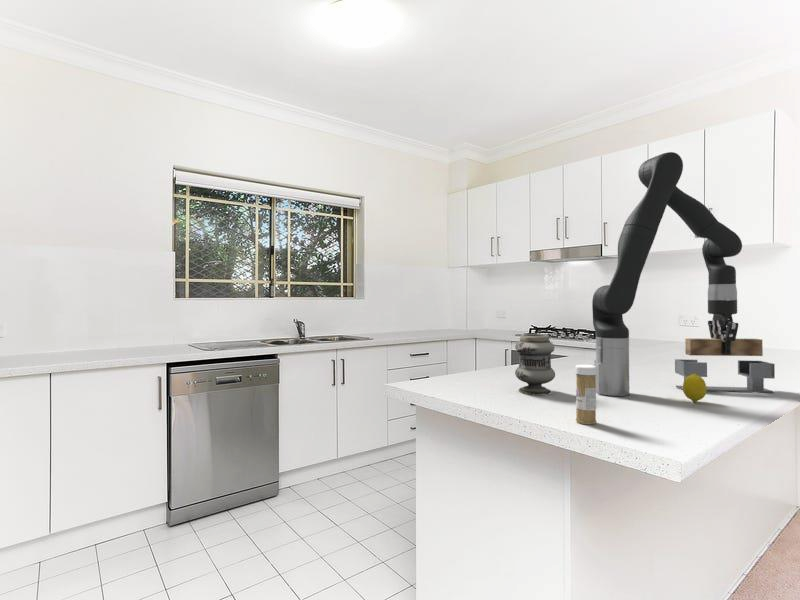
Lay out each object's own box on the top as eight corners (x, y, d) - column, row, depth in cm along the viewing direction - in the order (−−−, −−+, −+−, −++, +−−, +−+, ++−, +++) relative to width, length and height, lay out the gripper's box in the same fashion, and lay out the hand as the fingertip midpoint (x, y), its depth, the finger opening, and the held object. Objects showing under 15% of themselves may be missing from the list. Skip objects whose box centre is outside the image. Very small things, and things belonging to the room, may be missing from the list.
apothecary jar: (515, 395, 135) (515, 335, 135) (514, 387, 147) (514, 332, 147) (557, 396, 133) (557, 336, 133) (553, 388, 145) (552, 333, 145)
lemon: (699, 400, 127) (699, 372, 127) (710, 404, 121) (710, 375, 121) (678, 399, 127) (678, 371, 127) (689, 404, 122) (689, 375, 122)
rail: (690, 355, 140) (690, 339, 140) (685, 354, 144) (685, 338, 144) (762, 356, 136) (762, 339, 136) (755, 354, 140) (755, 338, 140)
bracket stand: (684, 391, 139) (683, 362, 139) (674, 386, 146) (674, 359, 146) (775, 393, 134) (775, 363, 134) (761, 389, 141) (760, 360, 141)
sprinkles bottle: (572, 420, 107) (571, 364, 107) (590, 419, 108) (590, 363, 108) (581, 425, 103) (581, 367, 103) (600, 424, 103) (600, 366, 103)
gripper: (698, 299, 148) (698, 350, 148) (720, 299, 134) (721, 356, 134) (723, 298, 146) (724, 351, 146) (748, 298, 132) (749, 356, 132)
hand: (722, 353), depth 140 cm, fingers closed on rail, 3 cm apart
